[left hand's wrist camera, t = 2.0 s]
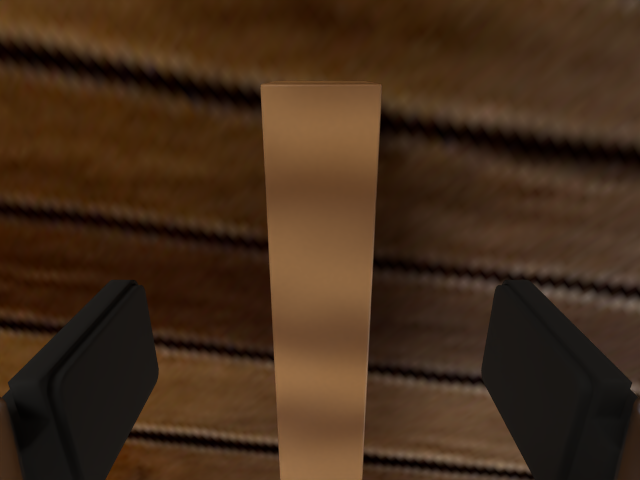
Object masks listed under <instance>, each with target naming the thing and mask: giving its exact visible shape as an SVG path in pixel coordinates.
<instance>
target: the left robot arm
mask: <svg viewBox="0 0 640 480" xmlns="http://www.w3.org/2000/svg"><path fill="white" fill-rule="evenodd" d="M158 371H159V370H158V363H157V357H156V351H155V346H154V340H153V334H152V328H151V323H150V317H149V311H148V305H147V300H146V294H145V289H144V287H143V286H142V285H138V284H137V282H136V281H135V280H111V281H110V282H109V283H108V284H107V285H106V286H105V287H104V288H103V289H102V290H101V291H100V292H98V293H97V294H96V295H95V296H94V297H93V298H92V299H91V300H90V301H89V302H88V303H87V304H86V305H85V306H84V307H83V308H82V309H81V310H80V311H79V312H78V313H77V314H76V315H75V316H74V317H73V318H72V319H71V320H70V321H69V322H68V323H67V324H66V325H65V326H64V327H63V328H62V329H61V330H60V331H59V332H58V333H57V334H56V335H55V336H54V337H53V338H52V339H51V340H50V341H49V342H48V343H47V344H46V345H45V346H44V347H43V348H42V349H41V350H40V351H39V352H38V353H37V354H36V355H35V356H34V357H33V358H32V359H31V360H30V361H29V362H28V363H27V364H26V365H25V366H24V367H23V368H22V369H21V370H20V371H19V372H18V373H17V374H16V375H15V376H14V377H13V378H12V379H11V380H10V381H9V382H8V384H9V387H10V390H9V391H8V392H7V393H6V394H5V395H4V396H3V397H2V398H1V397H0V480H105V479H106V477H107V475H108V473H109V471H110V469H111V467H112V466H113V464H114V462H115V460H116V458H117V456H118V454H119V452H120V450H121V448H122V447H123V445H124V443H125V441H126V439H127V437H128V435H129V433H130V431H131V430H132V428H133V426H134V424H135V422H136V420H137V418H138V416H139V414H140V412H141V411H142V409H143V407H144V405H145V403H146V401H147V399H148V397H149V395H150V394H151V392H152V390H153V388H154V386H155V384H156V382H157V379H158ZM481 371H482V379H483V382H484V384H485V386H486V388H487V390H488V392H489V394H490V395H491V397H492V399H493V401H494V403H495V405H496V407H497V409H498V411H499V412H500V414H501V416H502V418H503V420H504V422H505V424H506V426H507V428H508V430H509V431H510V433H511V435H512V437H513V439H514V441H515V443H516V445H517V447H518V448H519V450H520V452H521V454H522V456H523V458H524V460H525V462H526V464H527V466H528V467H529V469H530V471H531V473H532V475H533V477H534V479H535V480H640V397H639V398H638V397H637V396H636V395H635V394H634V393H633V392H632V391H631V390H630V387H631V384H632V382H631V381H630V380H629V379H628V378H627V377H626V376H625V375H624V374H623V373H622V372H621V371H620V370H619V369H618V368H617V367H616V366H615V365H614V364H613V363H612V362H611V361H610V360H609V359H608V358H607V357H606V356H605V355H604V354H603V353H602V352H601V351H600V350H599V349H598V348H597V347H596V346H595V345H594V344H593V343H592V342H591V341H590V340H589V339H588V338H587V337H586V336H585V335H584V334H583V333H582V332H581V331H580V330H579V329H578V328H577V327H576V326H575V325H574V324H573V323H572V322H571V321H570V320H569V319H568V318H567V317H566V316H565V315H564V314H563V313H562V312H561V311H560V310H559V309H558V308H557V307H556V306H555V305H554V304H553V303H552V302H551V301H550V300H549V299H548V298H547V297H546V296H545V295H544V294H543V293H542V292H540V291H539V290H538V289H537V288H536V287H535V286H534V285H533V284H532V283H531V282H530V281H529V280H505V281H504V282H503V284H502V285H498V286H497V287H496V289H495V294H494V300H493V305H492V311H491V317H490V323H489V328H488V334H487V340H486V346H485V351H484V357H483V363H482V370H481Z"/></svg>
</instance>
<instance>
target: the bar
mask: <svg viewBox="0 0 640 480" xmlns="http://www.w3.org/2000/svg"><path fill="white" fill-rule="evenodd" d="M381 96H382V85H381V84H378V83H373V82H368V81H275V82H270V83H265V84H262V85H261V106H262V126H263V145H264V165H265V185H266V205H267V225H268V245H269V265H270V285H271V304H272V324H273V344H274V364H275V384H276V404H277V424H278V444H279V463H280V480H362V473H363V453H364V433H365V414H366V394H367V374H368V354H369V334H370V314H371V294H372V274H373V255H374V235H375V215H376V195H377V175H378V155H379V135H380V116H381Z"/></svg>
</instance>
